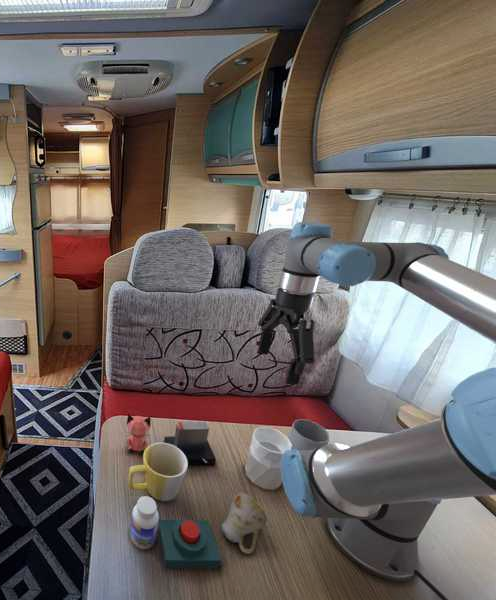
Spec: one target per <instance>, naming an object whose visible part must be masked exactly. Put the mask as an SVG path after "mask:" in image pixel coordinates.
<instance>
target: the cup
mask: <svg viewBox="0 0 496 600" xmlns="http://www.w3.org/2000/svg"><path fill="white" fill-rule="evenodd" d="M288 439H289V441H290V442H291V444H292V448H291V450H294V449H298V450H313V449H316V448H318V447H321V446H324V445H328V444H329V442H330V439H331V438H330V433H329V432H328V431H327V430H326V428H324V426H322V425H320V424H318V422H314V421H312V420H310V419H303V418H300V419H296V420H294V421H293V423H292V425H291V428H290V432H289V435H288Z"/></svg>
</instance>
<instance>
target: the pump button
mask: <svg viewBox="0 0 496 600" xmlns="http://www.w3.org/2000/svg"><path fill="white" fill-rule="evenodd" d="M180 534H181V537H182V539H183V540H184V541H185V542H187V543H190V544H194V543H196V542H197V540H198V537H199V528H198V526H197V525H196V524H195V523H194V522H193V521H190V520H186V521H184V522H183V523H182V525H181V530H180Z"/></svg>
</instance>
